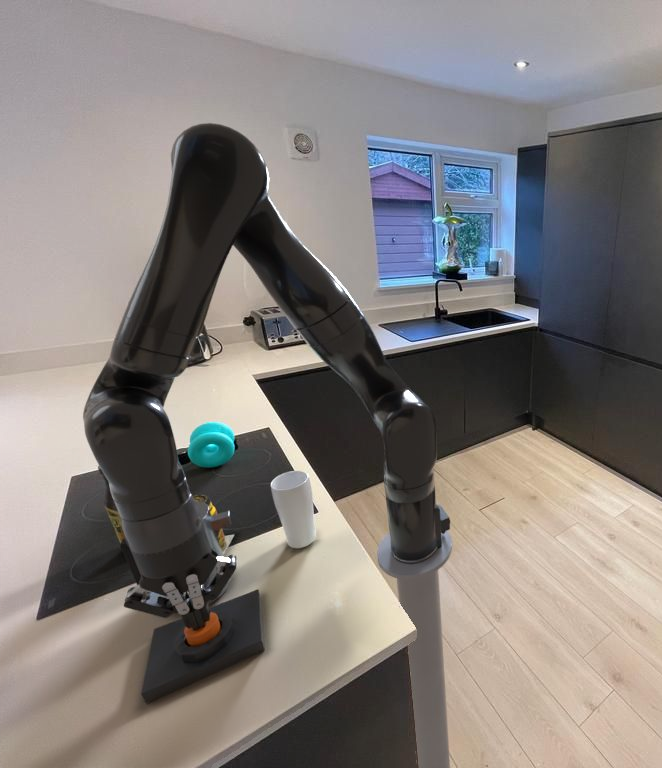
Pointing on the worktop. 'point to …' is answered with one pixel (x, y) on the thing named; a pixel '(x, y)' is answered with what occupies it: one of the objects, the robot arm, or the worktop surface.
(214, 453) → the turquoise yo-yo
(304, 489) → the drinking glass
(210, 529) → the kettle
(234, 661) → the black base plate
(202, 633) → the button
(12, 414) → the worktop surface
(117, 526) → the sauce bottle
